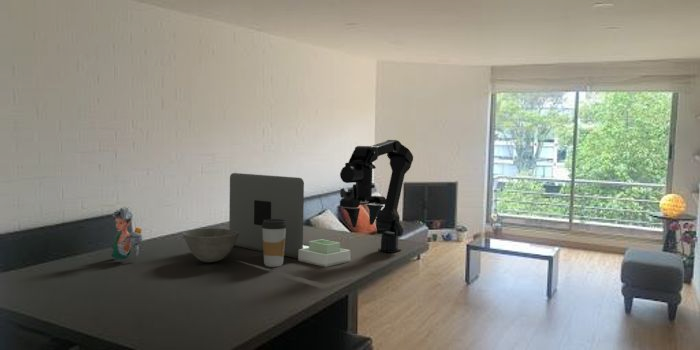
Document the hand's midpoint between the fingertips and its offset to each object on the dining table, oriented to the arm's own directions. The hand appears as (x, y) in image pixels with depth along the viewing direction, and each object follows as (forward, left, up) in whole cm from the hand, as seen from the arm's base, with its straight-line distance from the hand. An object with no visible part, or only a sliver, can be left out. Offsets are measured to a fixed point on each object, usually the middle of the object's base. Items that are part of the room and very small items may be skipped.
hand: (362, 225), depth 190 cm
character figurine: (+60, -57, -13) cm, 84 cm away
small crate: (+10, -9, -12) cm, 18 cm away
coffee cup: (+27, -16, -13) cm, 34 cm away
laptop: (+3, -36, -13) cm, 38 cm away
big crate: (+10, -9, -12) cm, 18 cm away
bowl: (+39, -35, -13) cm, 54 cm away
